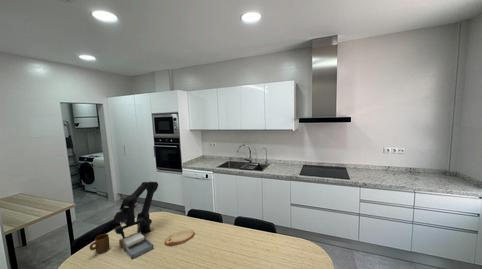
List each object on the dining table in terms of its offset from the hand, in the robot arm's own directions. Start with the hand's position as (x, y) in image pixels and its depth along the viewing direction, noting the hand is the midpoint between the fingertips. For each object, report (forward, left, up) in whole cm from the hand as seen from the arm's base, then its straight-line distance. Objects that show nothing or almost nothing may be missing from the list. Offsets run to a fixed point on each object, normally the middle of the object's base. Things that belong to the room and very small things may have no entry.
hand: (131, 236), depth 139 cm
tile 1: (0, +3, -1) cm, 3 cm away
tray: (-1, +14, -4) cm, 14 cm away
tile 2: (0, +7, -1) cm, 7 cm away
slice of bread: (-25, +23, -5) cm, 34 cm away
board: (-1, +2, -4) cm, 4 cm away
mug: (+18, -4, -4) cm, 19 cm away
